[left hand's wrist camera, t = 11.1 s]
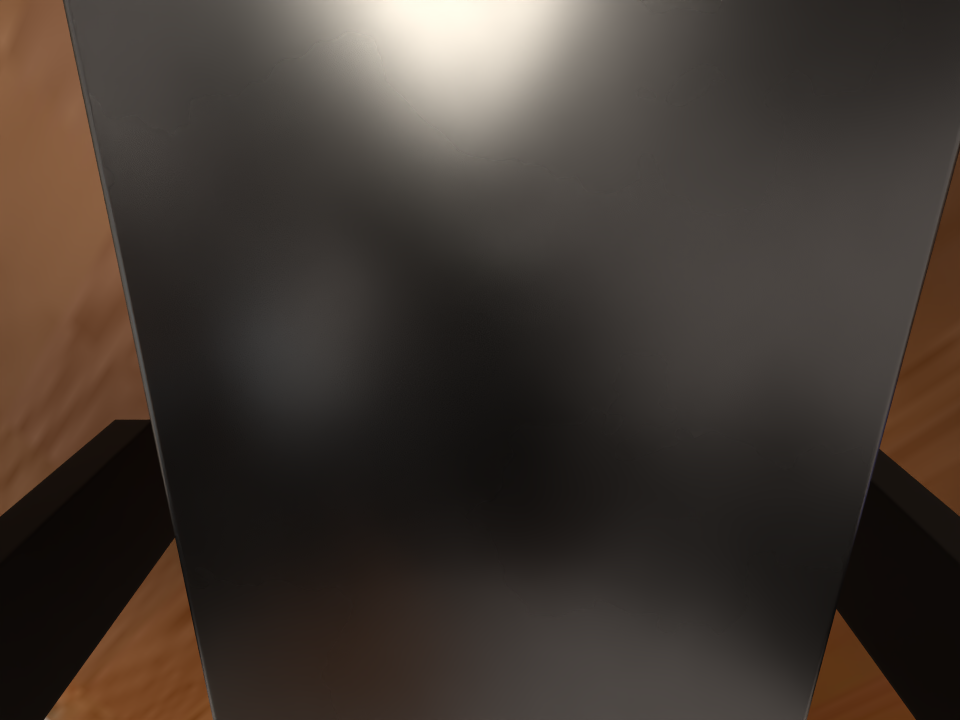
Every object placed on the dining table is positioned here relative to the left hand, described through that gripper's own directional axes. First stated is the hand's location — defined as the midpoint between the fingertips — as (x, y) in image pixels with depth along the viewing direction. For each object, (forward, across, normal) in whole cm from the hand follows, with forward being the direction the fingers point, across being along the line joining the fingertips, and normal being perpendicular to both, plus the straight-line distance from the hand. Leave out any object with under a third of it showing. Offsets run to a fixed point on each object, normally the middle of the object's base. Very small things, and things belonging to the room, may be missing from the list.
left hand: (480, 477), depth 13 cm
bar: (+2, 0, -9) cm, 9 cm away
